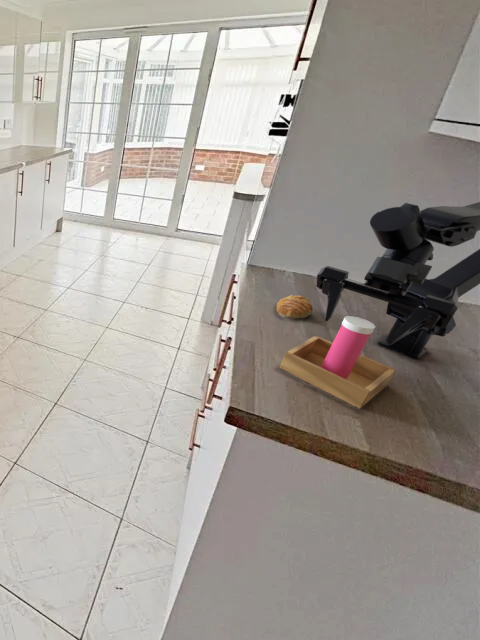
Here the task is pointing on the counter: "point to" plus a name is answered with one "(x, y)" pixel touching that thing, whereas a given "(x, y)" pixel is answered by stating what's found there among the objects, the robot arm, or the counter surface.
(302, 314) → the pastry
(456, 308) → the robot arm
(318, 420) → the counter surface
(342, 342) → the candy tube
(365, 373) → the wooden tray
